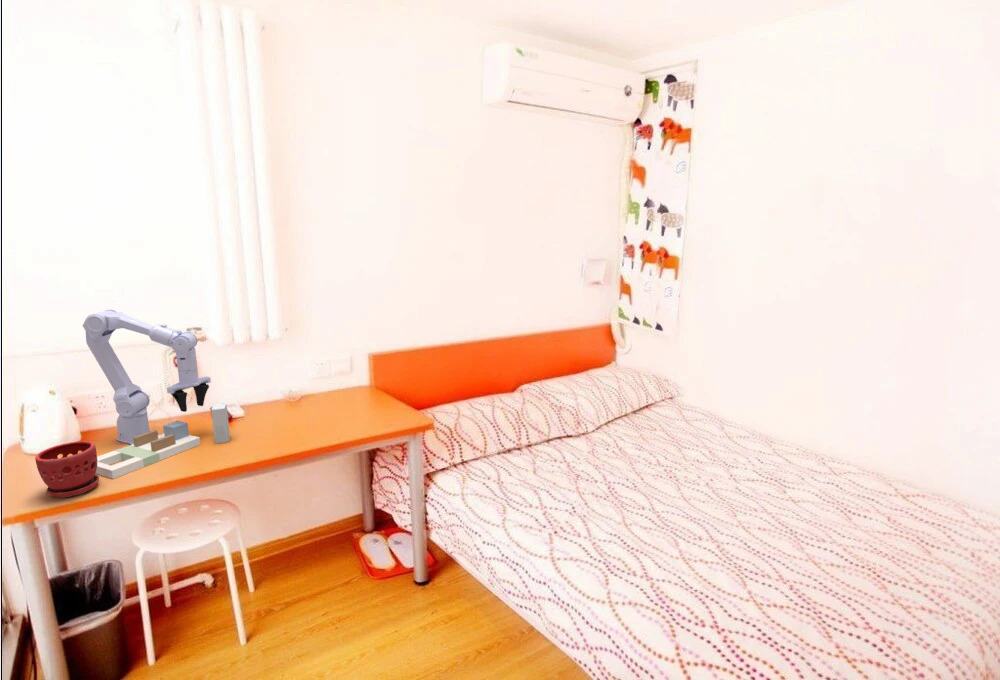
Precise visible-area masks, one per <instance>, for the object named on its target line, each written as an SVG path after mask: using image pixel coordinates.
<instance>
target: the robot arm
mask: <svg viewBox="0 0 1000 680" xmlns="http://www.w3.org/2000/svg"><path fill="white" fill-rule="evenodd" d="M82 327H83V329H84V331H85V342H86V345H87V347H88V348H89V350H90V351H91V354H92V355H93V356H94V358H95V360H96V362H97V363H98V365H99V367H100V368H101V370H102V372H103V373H104V375H105V377H106V379H107V380H108V383H109V384H110V385H111V387H112V388H113V391H114V395H113V397H112V399H113V402H114V404H115V411H116V413H117V414H118V417H117V418H116V426H117V435H118V437H117V438H116V441H119V442H121V443H125V444H130V445H132V444H134V442H133V437H135V436H138V435H141V434H144V433H147V432H150V431H151V430H150V424H149V416H148V406H149V405H150V401H151V400H150V396H149V395H148V394H147V393H146V392H145V391H143V390H142V388H141V387H140V386H139V385H137V384H135V383H133V381H132V380H131V378H130V376H129V374H128V373H127V371H126V369H125V368H124V366H123V364H122V362H121V360H120V359H119V357H118V356H117V354H116V352H115V351H114V349H113V347H112V345H111V343H110V339H111V336H112V335H113V333H114V332H115V331H116V330H119V329H125V330H128V331H131V332H135V333H139V334H142V335H145V336H148V337H149V339H150V341H152V342H155V343H158V344H161V345H163V346H166V347H169V348H171V349H172V350H173V351H174V353H175V358H176V364H177V373H178V374H177V375H178V382H177V383H175V384H172V385H171V386H170V385H169V386H167V387H166V390H167V391H166V392H167V394H170V395H171V396H172V398H173V399H174V400H175V402H176V404H177V406H178V407H179V409H180V412H182V413H183V412H184V413H185V412H187V410H188V408H187V407H188V406H187V396H188V392H185V391H184V390H187V389H191V388H193V391H194V394H195V400H196V404H197V406H199V407H203V406H204V404H205V399H206V395H207V393H208V390H209V388H210V385H209V384H210V383H212V381H211V377H210V376H203V377H199V372H198V370H199V369H198V362H197V361H198V360H197V352H196V348H195V347H196V346H197V345H198V338H197V336H196V334H193V333H192V332H191V331H184V332H182V331H183V330H180V329H173V328H171V327H168V325H167V324H165V323H162V324H156V325H151V324H149V323H147V322H144V321H142V320H139V319H137V318H134V317H132V316H129V315H127V314H125V313H123V312H122V311H116V310H114V309H106V310H104V311H101V312H97V313H92V314H89V315H88V316H87V317H86V318H85V320H84V322H83V324H82Z"/></svg>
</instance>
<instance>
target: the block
mask: <svg viewBox="0 0 1000 680" xmlns="http://www.w3.org/2000/svg"><path fill="white" fill-rule="evenodd" d="M163 433H164V436H168V435H171V434H173V435H175V441H176V440H179V439H182V438H184V437H187V436H189V435H190V431H189V424H188V422H184V421H181V420H175V421H173V422H169V423H166V424H163Z"/></svg>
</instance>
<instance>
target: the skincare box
mask: <svg viewBox="0 0 1000 680" xmlns="http://www.w3.org/2000/svg"><path fill="white" fill-rule="evenodd" d="M211 421H212V428H213V438H214V444H221V443H222V444H224V443H229V441H230V437H231V433H230V431H231V430H230V425H229V415H228V405H227V403H226V402H225V403H223V402H222V403H213V404H212V406H211Z"/></svg>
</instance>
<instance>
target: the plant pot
mask: <svg viewBox="0 0 1000 680" xmlns="http://www.w3.org/2000/svg"><path fill="white" fill-rule="evenodd" d="M59 455H62V456H61V457H60V458H59V457H58V456H59ZM97 457H98V454H97V448H96V444H95V442H92V441H89V440H88V441H87V440H81V441H80V440H79V441H71V442H70V441H69V442H67V443H61V444H57V445H54V446H52V447H48V448H46V449H44V450H42V451H40V452H39V453H37V455H35V458H34V459H35V460H34V461H35V464H36V469H37V471H38V473H39V475H40V477H41V480H42V481H43V483H44V484H45V485H46V486H47V488H46V493H47V494H48V495H49V496H51V497H54V498H64V497H66V498H68V497H73V496H77V495H81V494H83V493H87V492H88V491H91V489H94V488H95V487H96V486H97V485H98V483H99V481H100V475H99V474H96V470H97Z"/></svg>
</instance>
